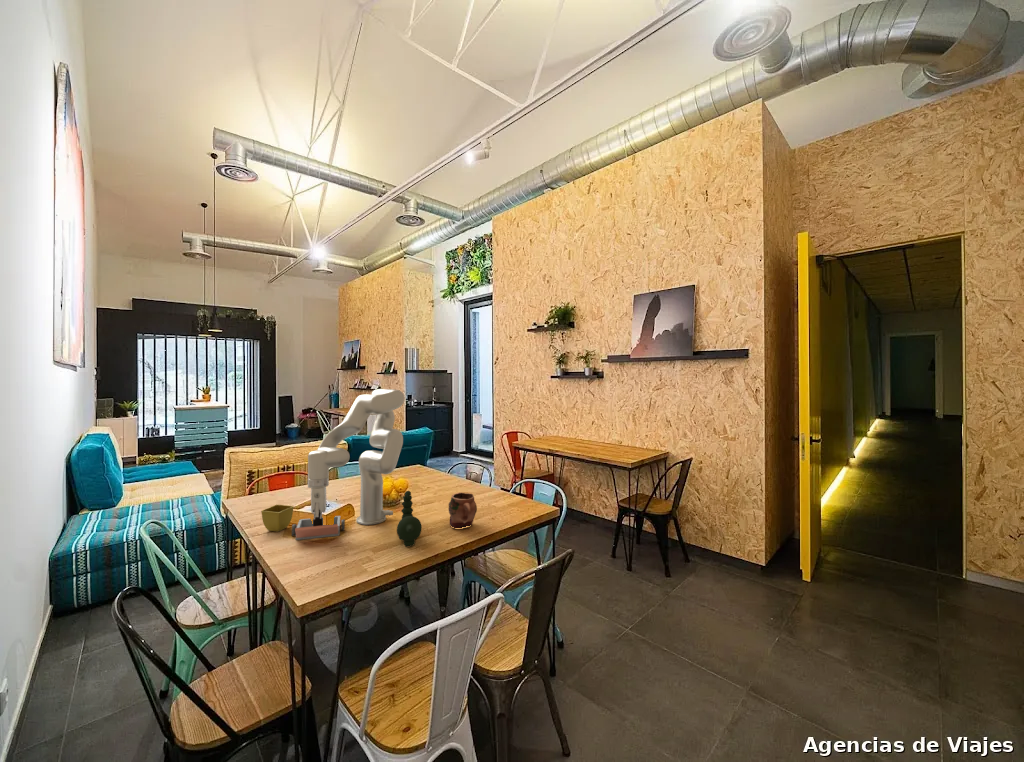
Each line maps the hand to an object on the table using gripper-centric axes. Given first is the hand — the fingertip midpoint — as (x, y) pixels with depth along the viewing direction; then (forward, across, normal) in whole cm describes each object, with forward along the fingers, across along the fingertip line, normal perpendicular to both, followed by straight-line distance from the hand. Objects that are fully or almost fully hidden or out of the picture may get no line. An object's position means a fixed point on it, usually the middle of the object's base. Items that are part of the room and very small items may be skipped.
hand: (317, 528), depth 167 cm
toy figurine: (+5, -10, -34) cm, 36 cm away
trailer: (+5, +11, 0) cm, 12 cm away
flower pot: (+5, +18, +17) cm, 25 cm away
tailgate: (+3, +2, 0) cm, 4 cm away
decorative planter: (+6, -2, -58) cm, 58 cm away
